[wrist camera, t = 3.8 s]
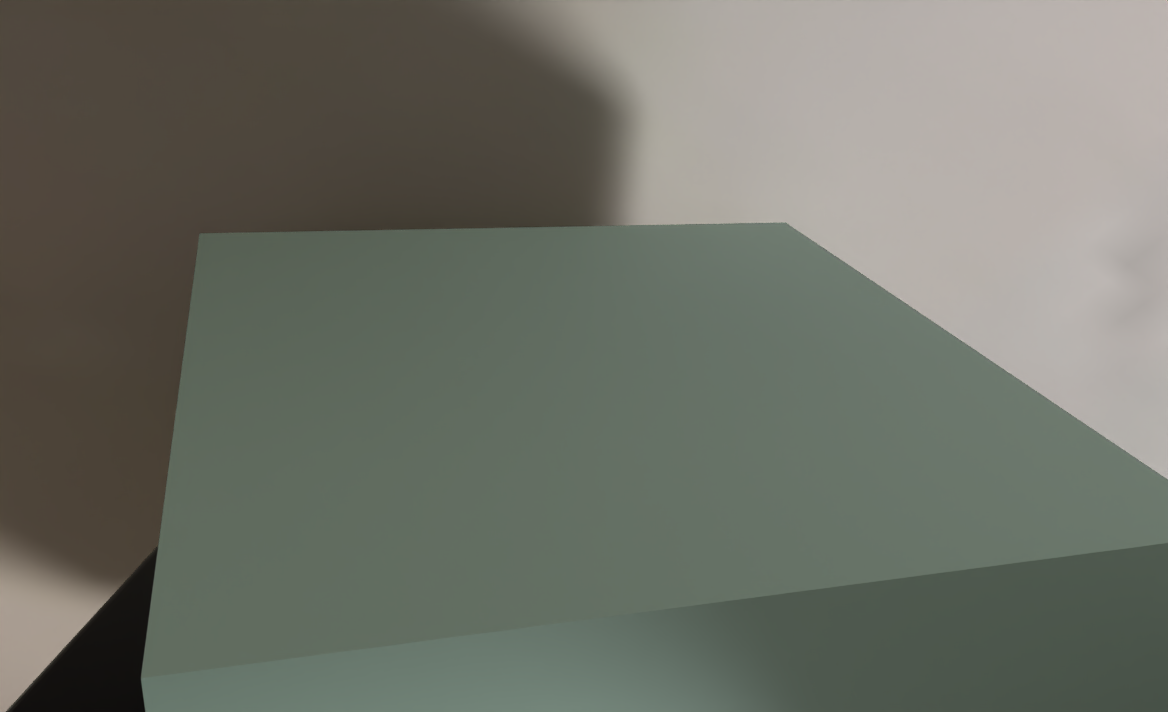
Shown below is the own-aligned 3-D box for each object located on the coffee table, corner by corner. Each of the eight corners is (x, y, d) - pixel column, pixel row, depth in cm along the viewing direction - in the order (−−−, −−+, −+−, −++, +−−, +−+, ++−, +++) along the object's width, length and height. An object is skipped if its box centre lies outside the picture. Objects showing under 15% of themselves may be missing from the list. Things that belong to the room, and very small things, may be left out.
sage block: (716, 657, 11) (1001, 1141, 7) (241, 727, 10) (234, 1387, 6) (785, 222, 9) (1246, 532, 5) (200, 232, 8) (141, 678, 4)
